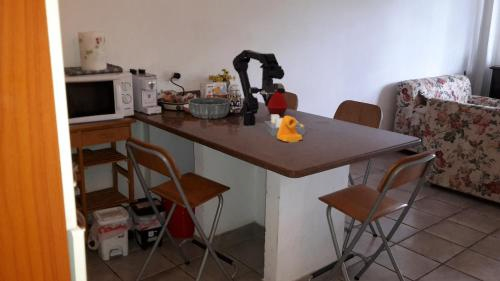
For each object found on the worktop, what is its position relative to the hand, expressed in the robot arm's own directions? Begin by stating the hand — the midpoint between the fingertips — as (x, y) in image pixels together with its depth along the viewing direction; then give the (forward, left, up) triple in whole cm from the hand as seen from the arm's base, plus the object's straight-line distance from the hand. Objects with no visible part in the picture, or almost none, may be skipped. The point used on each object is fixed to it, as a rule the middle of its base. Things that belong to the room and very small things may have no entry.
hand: (266, 106), depth 249 cm
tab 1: (+5, 0, -11) cm, 12 cm away
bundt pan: (-27, +38, -13) cm, 48 cm away
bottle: (+16, +39, -13) cm, 44 cm away
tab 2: (+5, -10, -11) cm, 16 cm away
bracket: (+7, -24, -13) cm, 28 cm away
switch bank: (+9, -5, -13) cm, 17 cm away
